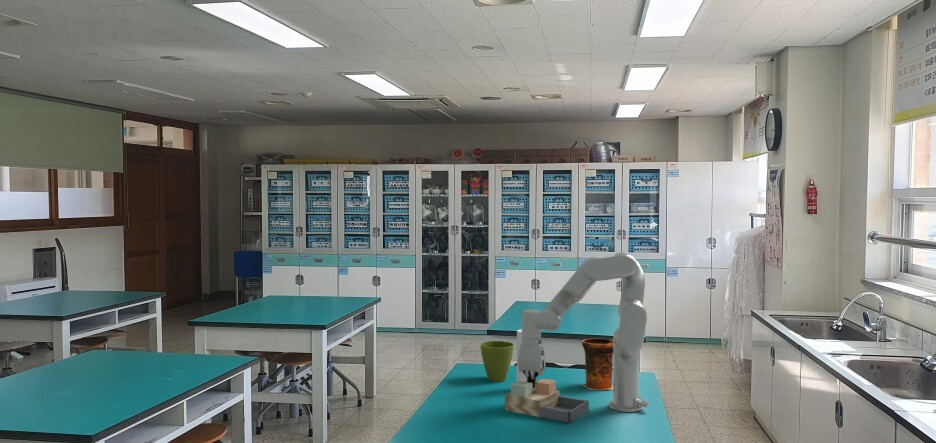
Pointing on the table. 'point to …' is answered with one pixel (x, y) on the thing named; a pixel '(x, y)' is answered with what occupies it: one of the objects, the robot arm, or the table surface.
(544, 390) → the salmon rectangular block
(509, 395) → the striped wooden block
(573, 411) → the box
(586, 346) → the vessel
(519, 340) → the cylindrical container
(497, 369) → the flower pot
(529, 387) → the pale green block
